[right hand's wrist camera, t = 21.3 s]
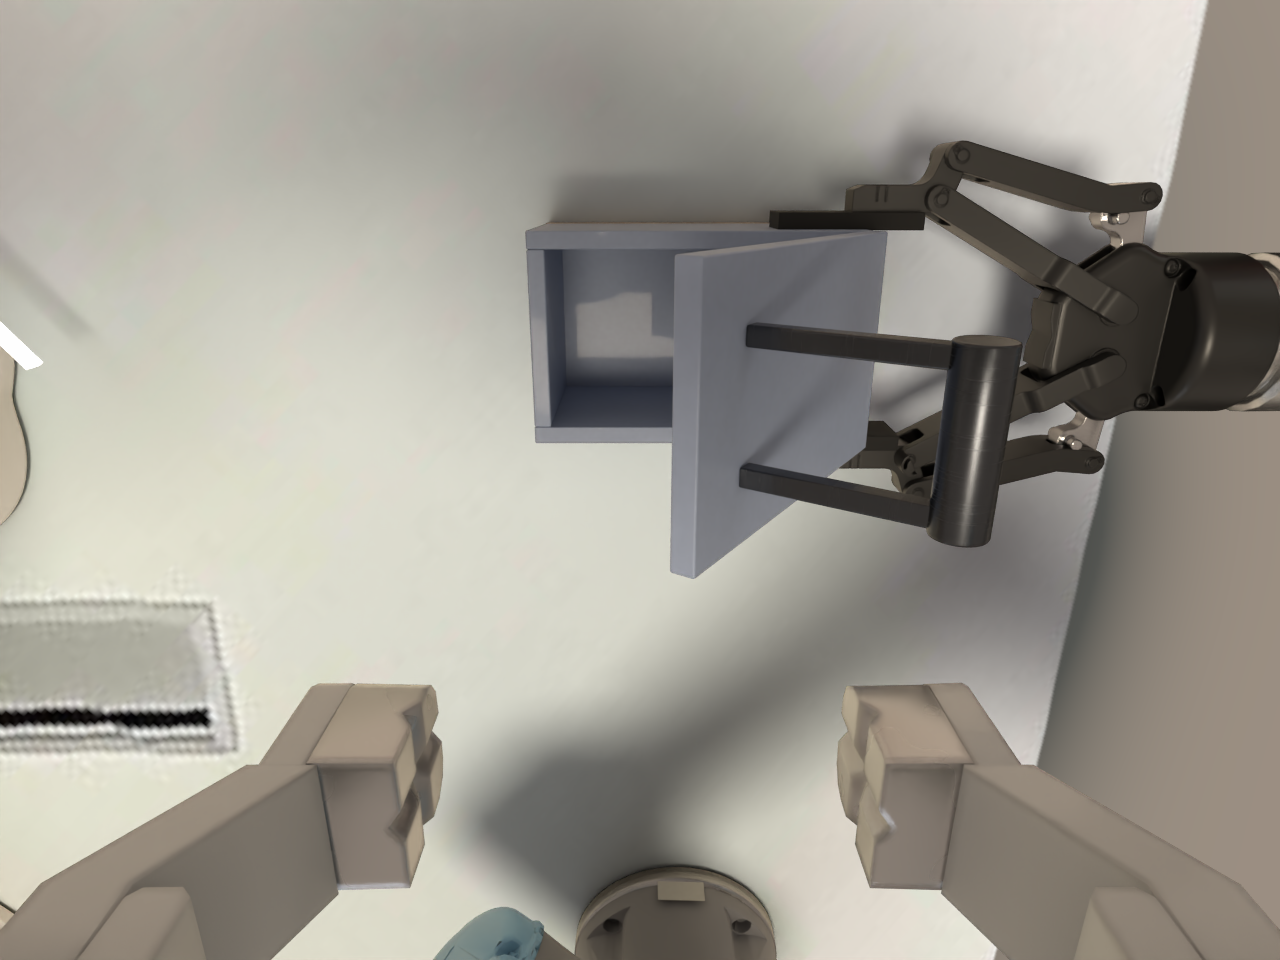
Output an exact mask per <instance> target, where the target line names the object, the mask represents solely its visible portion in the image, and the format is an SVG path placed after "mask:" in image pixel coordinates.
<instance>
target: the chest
mask: <svg viewBox="0 0 1280 960" xmlns="http://www.w3.org/2000/svg"><path fill="white" fill-rule="evenodd" d="M864 231H872V230H867V229H775V228H771V227H769V222H556V223H546V224H544V225H542V226H539V227H536V228H533V229H530V230H527V231H526V248H527V249H528V250H527V272H528V293H529V314H530V334H531V355H532V376H533V397H534V418H535V426H536V427H535V441H536V443H672V416H673V346H674V277H675V255H677V254H684V253H692V252H700V251H708V250H716V249H725V248H733V247H741V246H749V245H758V244H766V243H774V242H782V241H790V240H799V239H807V238H815V237H823V236H832V235H840V234H848V233H856V232H864Z"/></svg>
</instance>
